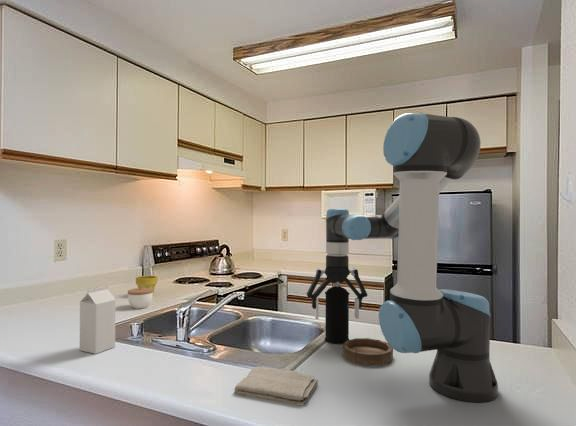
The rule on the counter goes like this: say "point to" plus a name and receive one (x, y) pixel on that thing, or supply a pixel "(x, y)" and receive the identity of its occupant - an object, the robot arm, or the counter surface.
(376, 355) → the round tray
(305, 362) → the counter surface
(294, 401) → the washcloth
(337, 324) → the aerosol can
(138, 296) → the lidded jar
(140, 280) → the plant pot
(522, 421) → the counter surface
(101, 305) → the milk carton
